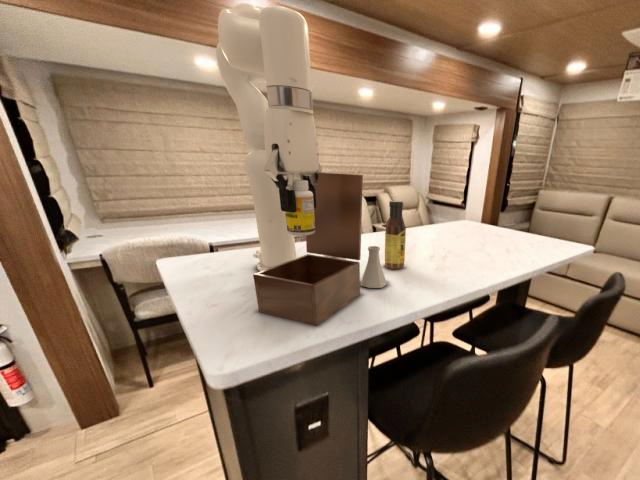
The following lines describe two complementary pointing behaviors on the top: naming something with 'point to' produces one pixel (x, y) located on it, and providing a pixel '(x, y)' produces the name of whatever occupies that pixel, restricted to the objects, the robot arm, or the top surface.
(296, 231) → the supplement bottle
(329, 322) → the top surface
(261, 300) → the brown wooden box
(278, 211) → the robot arm
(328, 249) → the lid
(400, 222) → the sauce bottle
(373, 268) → the flask
